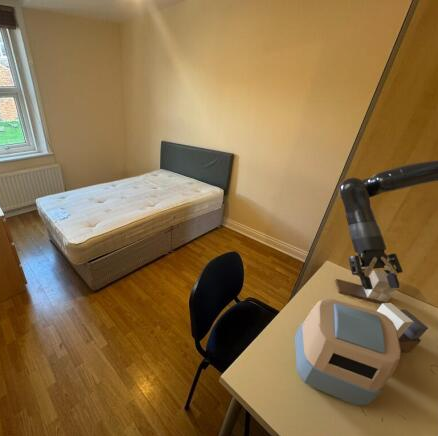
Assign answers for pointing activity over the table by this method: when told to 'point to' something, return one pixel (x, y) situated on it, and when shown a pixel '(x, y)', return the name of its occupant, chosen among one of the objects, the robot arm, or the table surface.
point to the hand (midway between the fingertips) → (381, 288)
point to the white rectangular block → (395, 317)
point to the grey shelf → (407, 343)
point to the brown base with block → (376, 295)
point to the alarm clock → (346, 350)
